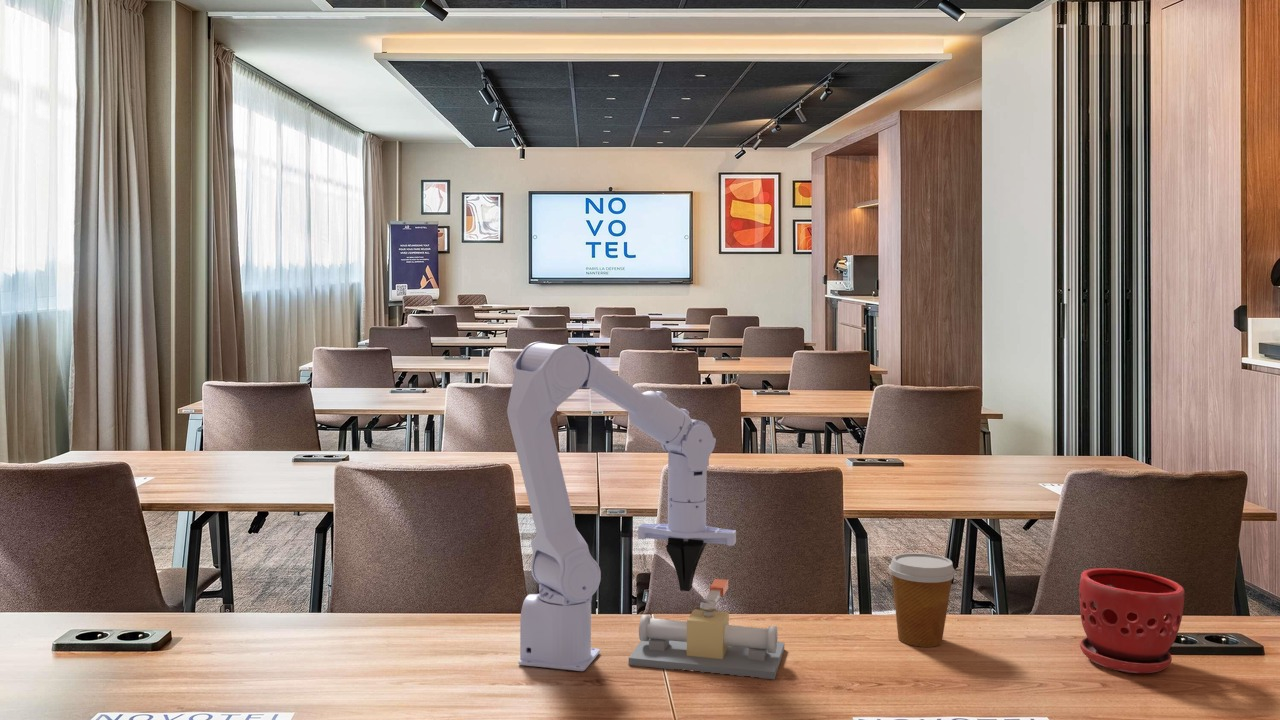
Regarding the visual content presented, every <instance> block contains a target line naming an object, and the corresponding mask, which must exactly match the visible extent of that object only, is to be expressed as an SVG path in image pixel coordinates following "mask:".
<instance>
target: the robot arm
mask: <svg viewBox="0 0 1280 720" xmlns="http://www.w3.org/2000/svg"><path fill="white" fill-rule="evenodd" d="M511 366H512V367H511V368H512V371H513V380H512V384H511V385H512V386H511V390H510V395H509V398H508V403H507V407H506V408H507V413H506V414H507V419H508V424H509V428H510V431H511V435H512V439H513V442H514V447H515V451H516V455H517V459H518V463H519V466H520V467H519V468H520V471H521V475H522V480H523V483H524V487H525V492H526V495H527V499H528V504H529V507H530V511H531V514H532V519H533V523H534V527H535V531H536V534H535V536H534V538H532V540H531V541H530V544H531V550H532V556H531V557H532V558H531V563H530V571H531V575H532V577H533V579H534V580H535V581H536V583H537V584H538V592H539V593H530V594H527V595H526V597H525V598H524V600H523V603H522V607H521V612H520V620H519V621H520V623H519V625H520V628H519V629H520V630H519V631H520V632H519V634H520V635H519V636H520V639H519V640H520V641H519V642H520V644H519V645H520V650H519V651H520V652H519V654H520V656H519V660H518V661H517V663H518V665H519V666H527V667H529V666H530V667H539V668H545V669H546V668H548V669H558V670H565V671H566V670H568V671H577V672H585V670H587V668H588V667H589V666H590V665H591V663H593V661H594V660H595V659H596V657H597V656H598V655H599V654H600V653H601V649H600V648H596V647H595V648H594V647H592V645H591V644H592V601H593V596H594V594H595V593H596V592H597V590H598V588H599V586H600V583H601V580H602V577H601V576H602V575H601V574H602V572H601V568H600V567H601V566H599V564H598V562H597V561H596V560H595V559H594V558H593V556H592V555H591V553H590V550H589V545H588V543H587V542H586V540H585V538H584V537H583V536H582V534H581V533H580V531H578V528H577V527H576V524H575V519H574V515H573V512H572V511H573V510H572V506H571V503H570V498H569V495H568V491H567V490H568V489H567V486H566V481H565V477H564V473H563V469H562V465H561V461H560V456H559V453H558V448H557V445H556V439H555V437H554V430H553V428H552V422H551V418H552V417H553V415H554V413H555V412H556V411H557V409H558V408H559V406H560V405H561V404H563V403H564V402H565V401H566V400H567V399H568V398H570V397H571V396H572V395H573V394H575V393H576V392H577V391H578V390H579V389H580V388H583V389H590V390H591V391H593V392H595V393H597V394H598V395H599V396H602V398H604V399H606V400H608V401H610V402H611V403H613V404H615V405H616V406H618V407H620V408H621V409H623V410H625V412H626V411H627V412H628V420H629V422H630V425H632V426H633V427H634V428H637V429H638V430H639V431H641V432H643V433H645V435H647V436H649V437H650V438H652V439H654V440H655V442H658V443H659V444H660V446H661V449H662V450H663V451H664V452H666V453H667V455H668V460H667V473H668V474H667V523H640V524H639V525H638V527H637V538H638V540H646V539H649V540H651V539H652V540H664V541H665V540H666V541H667V545H666V546H665V549H666V552H667V554H668V555H669V557H670V559H671V562H672V563H673V566H674V570H675V573H676V575H677V576H676V577H677V581H678V585H679V590H680V591H682V592H690V591H691V590H692V589H693V583H694V582H693V581H694V578H695V573H696V570H697V567H698V564H699V562H700V559H701V556H702V555H703V553H704V551H705V548H706V546H707V544H717V545H726V546H729V547H734V546H735V545H736V543H737V530H736V529H726V528H719V527H716V526H715V527H714V526H710V525H707V479H708V478H707V476H708V475H707V473H708V471H707V470H708V467H709V466H710V463H709V462H710V457H711V454H712V453H713V452H714V449H715V447H716V442H717V441H716V440H717V439H716V437H714V435H713V433H712V430H711V427H710V426H709V424H708V423H706V422H705V421H703V420H699V419H695V418H694V419H692V418H691V417H690V411H689V410H687V409H686V408H679V407H678V406H677V405H675V404H673V403H672V402H670V401H669V400H667V398H668V395H667V394H666V393H665V392H663V391H661V390H660V391H658V390H657V391H654V390H648V391H644V392H641V391H640V390H639V389H636V387H634V386H633V385H632V384H630V383H629V382H628V381H627V380H626V379H624V378H623V377H621V376H619V374H617V373H616V372H614V370H612V369H611V368H609V367H608V366H607V365H606V364H604V363H603V362H601V361H600V360H599V359H598V358H596V356H594V355H593V354H590V353H588V352H584V351H583V350H582V349H581V348H580V347H578V346H577V345H573V344H566V343H565V344H555V343H547V342H544V341H535V342H531V343H529V344H527V345H526V346H525V347H524V348H523V349H522V351H521V352H520V353H519V354H518V356H517V358H516V359H515V360H514V361H513V363H512V365H511Z"/></svg>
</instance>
